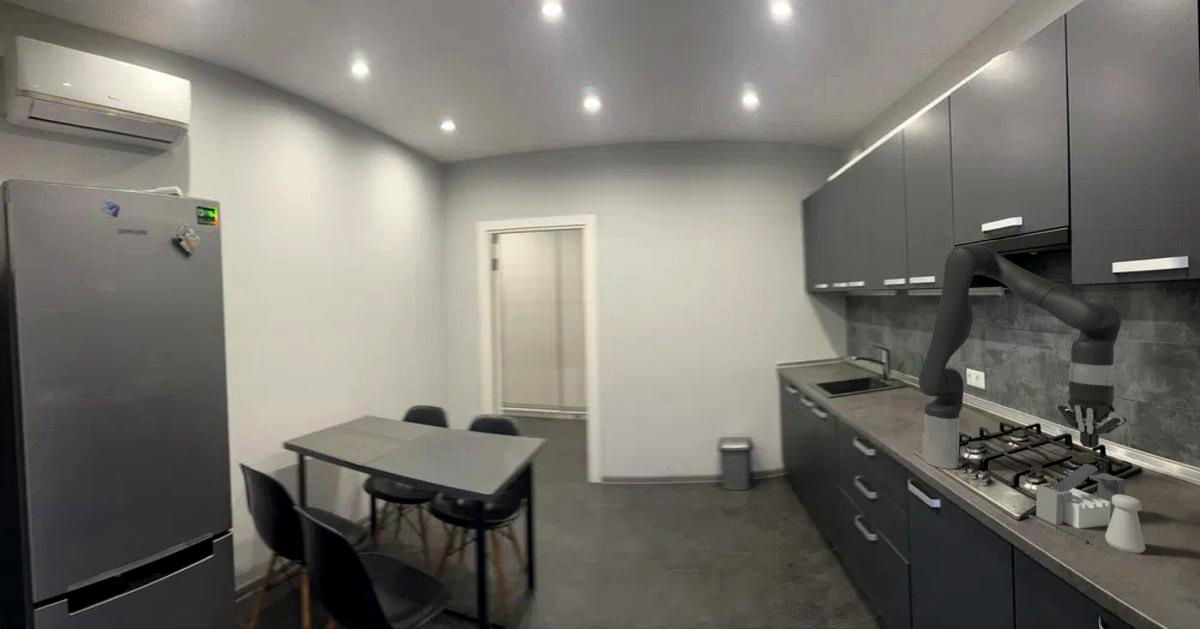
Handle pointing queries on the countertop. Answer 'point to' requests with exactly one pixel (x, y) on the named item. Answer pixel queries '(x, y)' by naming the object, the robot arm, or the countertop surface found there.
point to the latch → (1109, 487)
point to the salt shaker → (1125, 525)
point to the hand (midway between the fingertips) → (1089, 446)
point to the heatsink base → (1071, 509)
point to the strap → (1075, 478)
